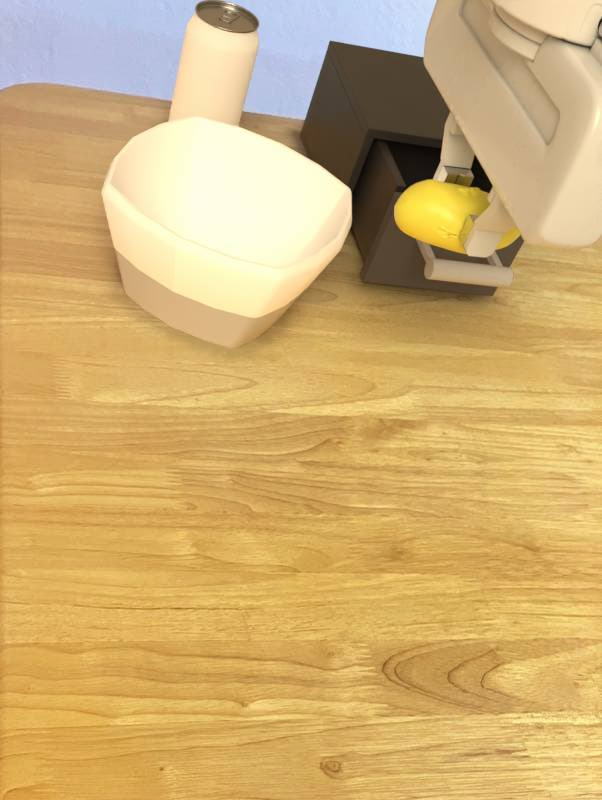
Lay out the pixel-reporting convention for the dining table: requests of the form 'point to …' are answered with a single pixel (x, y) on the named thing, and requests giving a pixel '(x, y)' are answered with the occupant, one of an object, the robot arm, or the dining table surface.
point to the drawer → (404, 255)
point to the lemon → (442, 213)
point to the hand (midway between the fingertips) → (458, 221)
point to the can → (216, 62)
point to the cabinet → (369, 107)
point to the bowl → (220, 226)
